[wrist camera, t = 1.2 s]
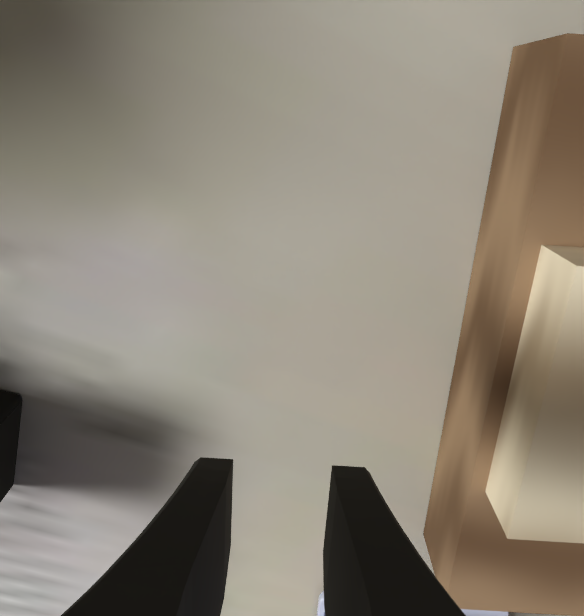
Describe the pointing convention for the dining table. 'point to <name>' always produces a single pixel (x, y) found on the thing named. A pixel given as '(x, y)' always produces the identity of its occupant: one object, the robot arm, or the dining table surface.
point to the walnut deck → (510, 338)
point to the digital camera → (8, 438)
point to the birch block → (545, 410)
